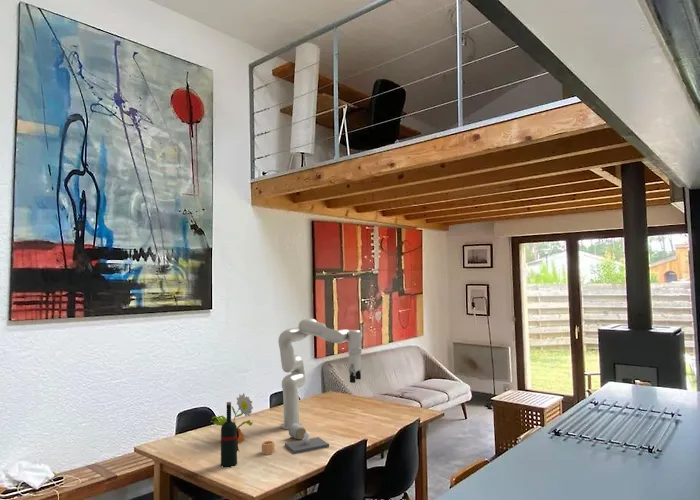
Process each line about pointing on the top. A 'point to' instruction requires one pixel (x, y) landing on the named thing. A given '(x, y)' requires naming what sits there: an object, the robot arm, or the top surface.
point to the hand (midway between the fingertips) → (355, 380)
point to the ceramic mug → (297, 431)
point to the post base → (306, 444)
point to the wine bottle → (229, 441)
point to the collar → (268, 447)
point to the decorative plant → (245, 408)
